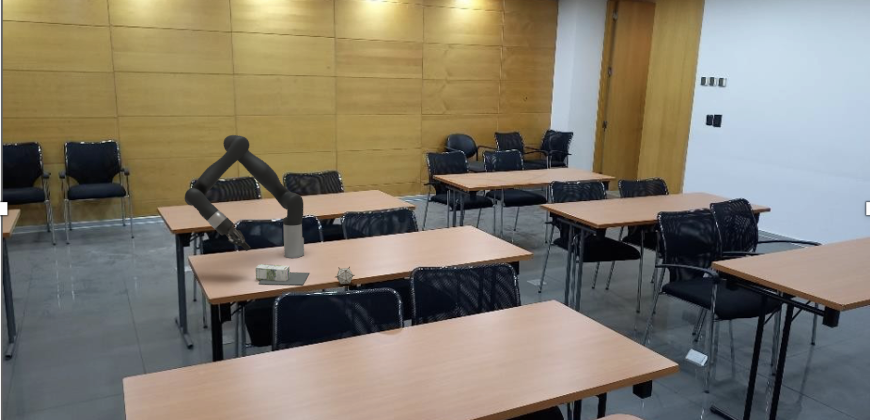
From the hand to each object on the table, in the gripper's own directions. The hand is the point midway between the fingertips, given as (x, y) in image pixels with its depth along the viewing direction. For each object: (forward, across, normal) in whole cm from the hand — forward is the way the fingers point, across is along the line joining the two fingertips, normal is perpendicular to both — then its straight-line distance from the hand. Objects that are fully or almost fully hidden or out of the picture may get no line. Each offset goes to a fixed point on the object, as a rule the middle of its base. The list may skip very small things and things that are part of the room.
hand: (248, 249), depth 286 cm
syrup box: (+10, 0, +5) cm, 11 cm away
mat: (+21, 0, -1) cm, 21 cm away
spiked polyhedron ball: (+42, -5, -21) cm, 47 cm away
